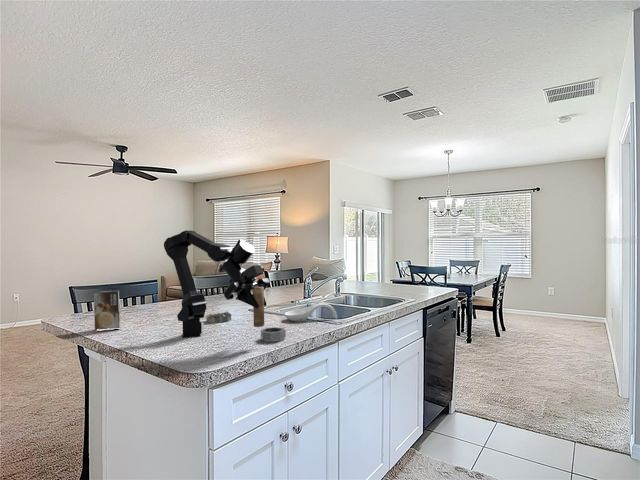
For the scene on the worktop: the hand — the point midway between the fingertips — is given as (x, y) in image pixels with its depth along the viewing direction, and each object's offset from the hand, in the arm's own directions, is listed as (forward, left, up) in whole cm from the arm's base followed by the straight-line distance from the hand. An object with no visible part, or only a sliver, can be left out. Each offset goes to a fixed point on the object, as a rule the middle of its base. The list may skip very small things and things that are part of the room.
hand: (261, 306), depth 128 cm
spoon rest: (+28, +36, -14) cm, 48 cm away
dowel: (-1, +1, -7) cm, 7 cm away
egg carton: (-11, +50, -14) cm, 53 cm away
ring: (+5, +8, -13) cm, 17 cm away
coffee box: (-56, +51, -14) cm, 77 cm away
